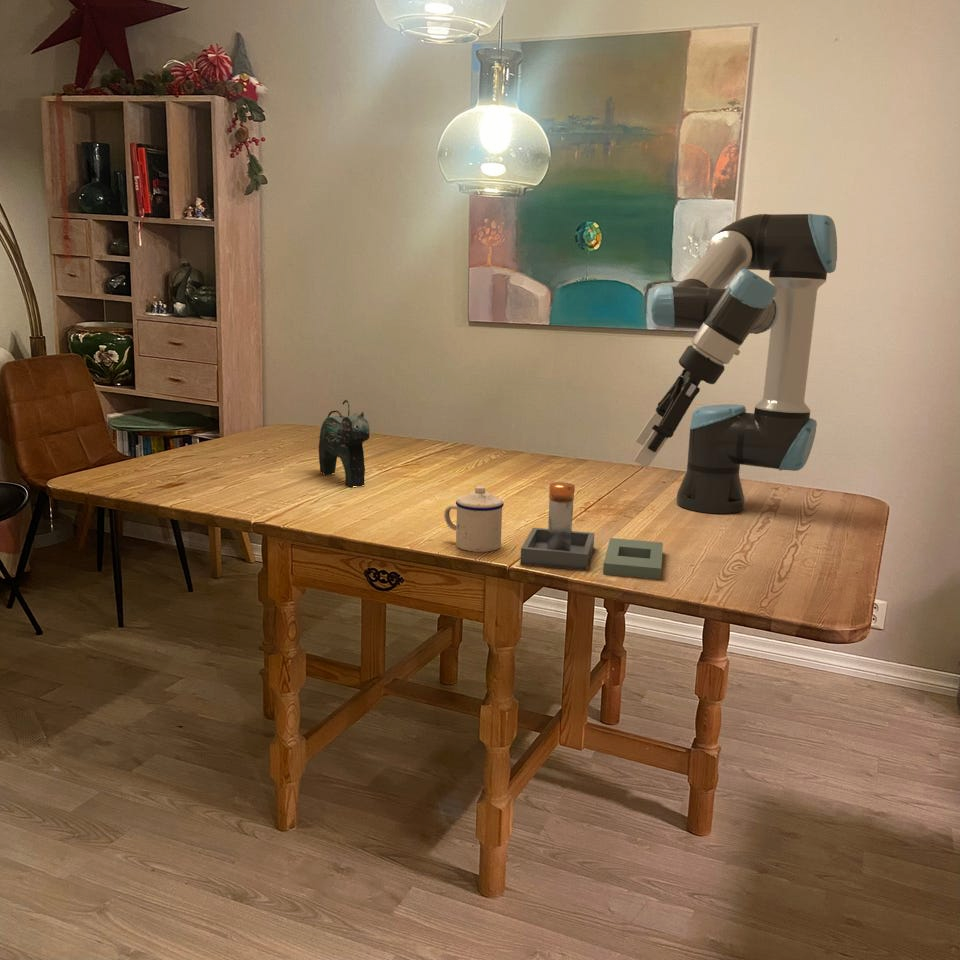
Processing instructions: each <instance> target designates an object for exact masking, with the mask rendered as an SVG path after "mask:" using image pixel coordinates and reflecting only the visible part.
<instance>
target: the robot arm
mask: <svg viewBox="0 0 960 960" xmlns="http://www.w3.org/2000/svg"><path fill="white" fill-rule="evenodd" d="M837 238H838V237H837V230H836V225H835V222H834V219H833V218H832V217H830V216H829V215H825V214H814V213H802V214H801V213H800V214H799V213H796V214H794V213H793V214H792V213H791V214H790V213H789V214H788V213H787V214H784V213H783V214H781V213H780V214H773V213H772V214H768V213H758V214H752V215H750V216H744V217H742V218H740V219H738V220H735V221H733V222H732V223H730V224H728V225H726V226H725V227H723V228H721V229H720V230H719V231H717V233H716V234H715V235H713V236H712V238H711V239H710V240H709V242H708V244H707V248H706V252H705V253H704V254H703V255H702V257H700V259H699V260H698V261H697V263H696V264H695V265H694V266H693V267H692V268H691V270H690V271H689V272H687V274H686V275H685V276H684V277H683V278H682V280H680V282H679V283H678V284H677V285H676V286H675V285H674V286H673V285H666V286H665V285H664V286H663V285H662V286H658V287H657V288H656V289H655V291H653V292H654V293H653V296H652V297H651V298H652V300H651V307H650V308H651V311H650V312H651V318H652V319H651V320H652V321H653V323H654V324H655V325H656V326H659V327H664V328H665V327H667V328H671V329H691V330H692V329H693V330H694V329H695V330H697V331H696V333H695V334H694V336H693V337H692V339H691V343H692V344H690V345H687V347H686V348H685V350H684V351H683V353H682V355H681V356H680V357H679V359H678V364H679V365H680V366H681V367H682V368H683V370H682V371H681V373H680V375H679V376H678V377H677V378H676V379H675V382H674V383H673V384H672V386H671V387H670V388H669V390H668V391H667V392H666V393H665V395H664V396H663V397H662V399H661V400H660V401H659V402H657V407H656V408H655V411H654V412H653V414H652V415H651V417H650V418H649V420H648V421H647V422H646V424H645V425H644V427H643V429H642V430H641V431H640V433H639V434H638V436H637V438H636V439H635V443H637V444H639V445H640V446H642V447H641V449H639V451H638V453H637V454H636V456H635V457H634V459H633V462H635V463H636V464H639V465H640V466H642V467H643V468H645V469H649V466H650V465H651V464H652V462H653V461H654V459H655V458H656V456H657V455H658V453H659V452H660V450H662V448H663V446H665V443H666V442H667V440H668V439H671V438H672V437H673V436H674V433H675V431H676V430H677V427H679V426H680V423H681V422H682V419H683V418H684V416H685V415H686V414H687V411H688V409H689V408H690V406H691V405H692V403H693V401H694V399H695V398H696V396H697V395H698V394H699V393H700V390H701V389H700V387H699V385H700V383H701V382H703V381H704V382H705V383H707V384H708V385H715V384H716V383H717V381H718V380H719V378H720V377H721V376H722V374H723V373H724V371H725V370H726V369H725V365H727V364H728V365H729V364H730V362H731V361H732V359H733V358H734V355H735V356H739V355H740V353H741V351H740V347H741V346H742V345H743V344H744V341H745V340H746V339H747V337H748V336H749V334H754V335H758V334H759V335H760V334H762V333H765V332H767V331H769V330H770V331H769V339H768V342H769V343H768V351H767V360H766V369H765V378H764V386H763V396H762V398H761V400H760V401H758V403H756V404H755V405H754V412H747V409H746V406H745V405H744V404H733V403H731V404H727V403H725V404H714V405H713V404H712V405H706V406H700V407H697V408H696V409H695V410H693V412H692V414H691V420H690V421H691V422H690V426H689V428H688V429H689V440H688V450H687V465H686V472H685V474H684V477H683V478H682V481H681V483H680V486H679V488H678V491H677V492H676V501H675V502H676V504H677V505H678V506H679V507H682V508H683V509H686V510H691V511H693V512H694V511H695V512H701V513H706V514H733V513H734V514H735V513H740V512H741V511H743V510H745V509H744V508H745V501H746V500H745V495H744V491H743V487H742V483H741V479H740V478H741V477H740V466H741V465H743V466H750V467H759V468H765V469H766V468H768V469H775V470H779V471H794V472H795V471H800V470H802V469H803V468H804V467H805V466H806V464H807V461H808V459H809V456H810V454H811V452H812V448H813V445H814V441H815V438H816V433H817V425H818V423H817V420H816V419H814V418H811V409H810V408H809V406H808V405H807V404H806V403H805V395H806V389H807V381H808V373H809V370H808V369H809V364H810V355H811V348H812V340H813V339H812V337H813V330H814V321H815V312H816V304H817V296H818V290H819V288H820V287H822V286H823V285H824V284H825V283H826V282H827V276H828V274H832V273H833V272H835V271H836V268H837V261H838V241H837V240H838V239H837ZM751 270H752V271H751ZM753 270H754V271H769V274H768V280H769V281H770V282H769V281H767V280H766V279H764V278H763V277H761V276H760V275H758V274H756V273H754V272H753Z"/></svg>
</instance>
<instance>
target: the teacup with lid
mask: <svg viewBox="0 0 960 960" xmlns="http://www.w3.org/2000/svg"><path fill="white" fill-rule="evenodd" d="M504 506H505V505H504V501H503V499H502V498H500V496H496V495H493V494H492V493H491V492H489V491H486V487H485V486H484V485H483V486H482V485H480V486H479V485H478V486H475V487H474V490H472V491H470V492H469V493H467V494H463V495H460V496H458V497H457V499H456V501H455V504H451V505H448V506H447V507H446V508H445V510H444V515H443V516H444V521H445V522H446V525H447V527H449V528H450V529H451V530H453V531H456V533H455V545H456V547H457V548H458V549H461V550H463V551H466V550H467V552H471V551H473V553H486V552H487V553H488V551H489V552H492V551H496V550H498V549H500V548H501V545H502V528H503V527H502V524H503V523H502V522H503V521H502V520H503V507H504ZM451 510H456V525H455V524H454V523H453V522H452V519H451V517H450V513H451Z"/></svg>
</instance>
